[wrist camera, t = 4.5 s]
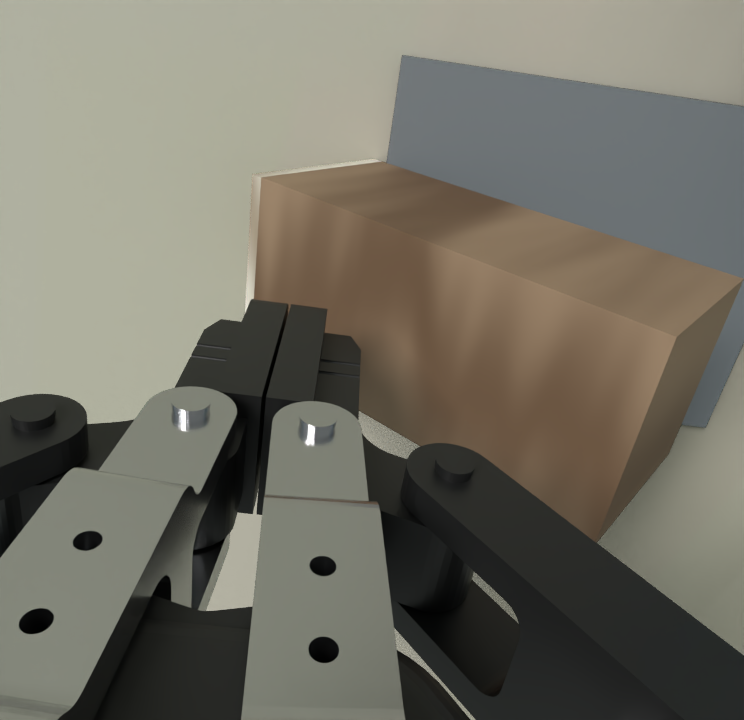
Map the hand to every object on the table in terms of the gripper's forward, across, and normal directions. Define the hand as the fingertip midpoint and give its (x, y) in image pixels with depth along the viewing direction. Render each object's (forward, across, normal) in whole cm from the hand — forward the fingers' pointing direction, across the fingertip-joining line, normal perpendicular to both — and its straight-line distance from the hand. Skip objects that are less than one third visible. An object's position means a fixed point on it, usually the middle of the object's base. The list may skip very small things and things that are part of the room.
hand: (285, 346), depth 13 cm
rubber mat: (+8, -8, 0) cm, 11 cm away
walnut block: (+6, 0, 0) cm, 6 cm away
